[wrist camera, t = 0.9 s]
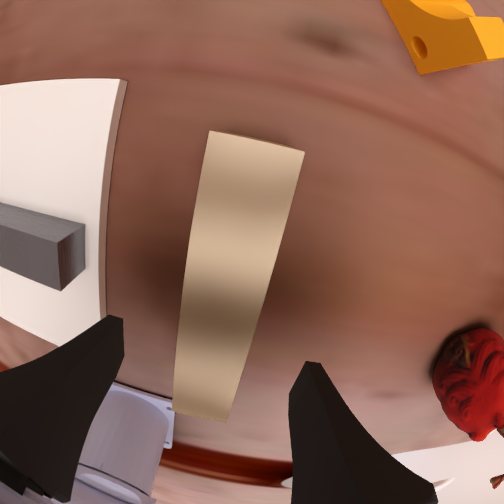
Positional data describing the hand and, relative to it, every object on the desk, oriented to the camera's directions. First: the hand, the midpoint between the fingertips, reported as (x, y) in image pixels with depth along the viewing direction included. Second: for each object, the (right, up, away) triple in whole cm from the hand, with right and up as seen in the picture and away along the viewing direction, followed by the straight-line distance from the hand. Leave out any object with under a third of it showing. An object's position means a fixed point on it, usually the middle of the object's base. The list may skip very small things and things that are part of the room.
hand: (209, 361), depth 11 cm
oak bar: (0, +3, +7) cm, 8 cm away
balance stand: (-16, +7, +6) cm, 19 cm away
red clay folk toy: (+20, -5, +9) cm, 23 cm away
